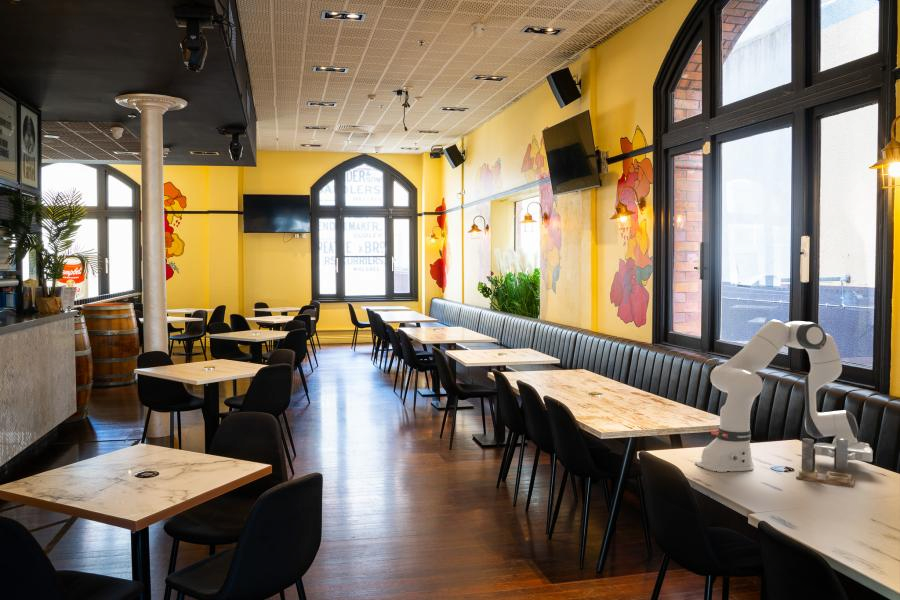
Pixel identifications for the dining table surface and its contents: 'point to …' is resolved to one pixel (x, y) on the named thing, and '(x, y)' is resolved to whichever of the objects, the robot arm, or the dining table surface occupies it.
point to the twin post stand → (811, 474)
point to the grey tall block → (841, 456)
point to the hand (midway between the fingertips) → (840, 456)
